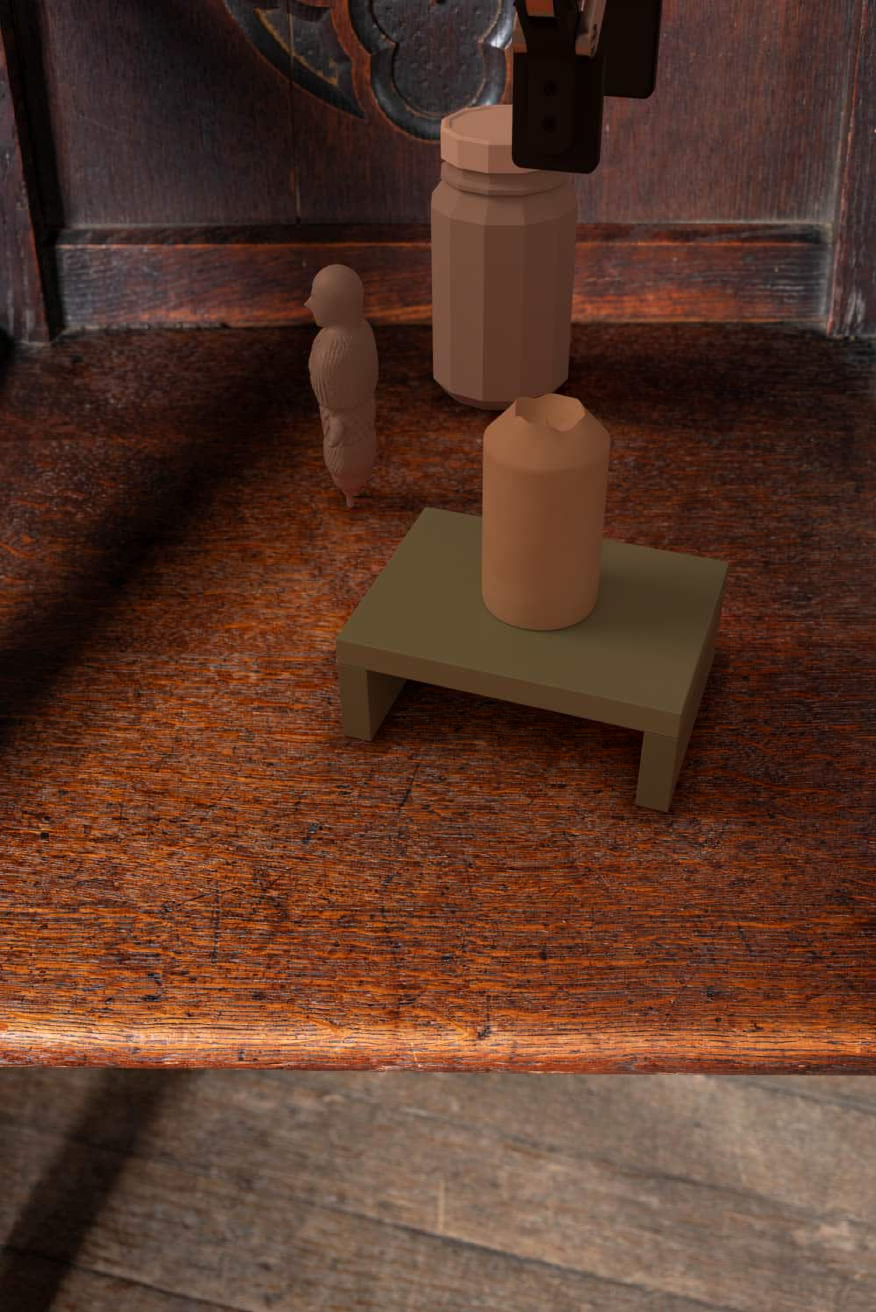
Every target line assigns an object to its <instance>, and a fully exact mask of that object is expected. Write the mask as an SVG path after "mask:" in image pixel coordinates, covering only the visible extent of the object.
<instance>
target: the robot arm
mask: <svg viewBox="0 0 876 1312" xmlns="http://www.w3.org/2000/svg"><path fill="white" fill-rule="evenodd" d="M663 2H664V0H582V2H581V6H580V7H579V3H578V0H513V2H512V6H513V7H515V10H516V11H515V16H514V21H513V27H512V33H511V35H512V36H511V45H512V97H511V98H512V102H511V105H512V161H513V163H514V164H515V165H516V166H517V167H519V168H526V169H537V170H548V171H558V172H569V174H570V173H571V174H580V175H590V174H591V173H593V172H594V171H595V170H596V169H597V167H598V166H599V164H600V162H601V152H602V134H603V117H604V103H605V101H604V100H605V97H610V98H611V97H612V98H624V99H637V100H646V99H648V98H650V97H651V96H652V94H653V93H654V92H655V90H656V87H657V86H656V85H657V74H658V63H659V51H660V40H661V27H662V17H663V15H662V14H663Z"/></svg>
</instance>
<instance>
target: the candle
mask: <svg viewBox="0 0 876 1312" xmlns="http://www.w3.org/2000/svg"><path fill="white" fill-rule="evenodd" d="M482 439H483V440H482V511H481V512H482V513H481V514H482V516H481V517H482V595H483V600H484V603H485V605H486V607H487V609H488V610H489V611H490V612H491V613H492V614H493V615H494V616H495V617H497V618H498V619H500V620H501V621H503V622H505V623H507V624H509V625H512V626H515V627H519V628H523V629H529V630H555V629H561V628H565V627H568V626H571V625H574V624H576V623H578V622H580V621H582V620H583V619H585V618H586V617H587V616H588V615H589V614H590V613H591V612H592V610H593V609H594V607H595V604H596V601H597V597H598V588H599V577H600V565H601V553H602V541H603V539H604V529H605V528H604V526H605V525H604V524H605V516H606V503H607V491H608V479H609V468H610V467H609V466H610V454H611V441H612V440H611V436H610V433H609V431H608V430H607V429H606V427H605V426H604V425H603V424H601V422H600V421H599V420H598V419H597V418H596V417H595V416H594V415H593V414H592V413H591V412H590V411H589V410H588V409H587V408H586V407H585V406H584V405H583V403H582V402H581V401H580V400H579V399H578V398H575V397H572V396H571V397H570V396H566V395H562V394H558V393H553V394H546V395H544V396H542V397H539V398H536V399H533V398H528V397H519V398H518V399H517V400H516V401H515V402H514V403H513V404H512V405H511V406H510V407H509V408H508V409H507V410H504V412H502V414H500V415H499V416H498V417H497V418H496V419H495V420H493V421H492V422H490V424H489V425H488V426H487V427H486V428H485V430H484V433H483V437H482Z"/></svg>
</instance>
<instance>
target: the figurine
mask: <svg viewBox="0 0 876 1312" xmlns="http://www.w3.org/2000/svg"><path fill="white" fill-rule="evenodd" d="M310 295H311V296H309V298H308V299H307V300H306V301H305V302H304V304H303V306H304V307H305V308H306V309H307V310H309V312H311V313H312V315H313V318H314V321H315V324H316V326H318V327H319V328H321V329H320V330H319V332H318V334H316V336H315V338H314V339H313V342H312V345H311V351H310V356H309V359H308V365H307V367H308V369H309V374H310V376H309V378H310V385H311V387H312V390H313V391H314V395H315V397H316V399H317V400H316V401H317V403H318V404H319V407H318V409H319V413H320V420H321V427H322V428H321V429H322V432H323V437H324V438H323V449H322V450H323V451H322V452H323V459H324V462H325V463H324V464H325V466H326V468H327V471H328V472H329V474H330V475H331V478H332V481H333V483H334V485H335V486H336V487H337V488H339V490H340V491H342V493H343V495H345V498H346V507H347V508H349V509H351V508H354V507H355V502H354V497H359V496H360V495H361V494H360V488H362V487H363V486H364V485H365V484H366V483H367V482H368V480H369V478H370V477H371V474H372V470H373V464H374V461H375V459H376V456H377V451H378V448H377V447H378V443H377V442H378V441H377V439H378V438H377V431H376V428H375V425H376V414H377V406H376V401H377V399H376V398H375V390H376V388H377V384H378V381H379V356H378V349H377V346H376V338H375V335H374V331H373V328H372V326H371V325H370V323H369V322H368V320H367V319H365V318H363V308H364V298H365V292H364V285H363V281H362V279H361V278H360V276H359V275H358V274H357V272H356V271H355V270H353V269H352V268H350V267H349V266H346V265H344V264H340V263H339V264H338V263H336V264H335V263H334V264H329V265H327V266H325V267H323V268H322V269H320V270H319V271H318V272H317V273H316V275H315V276H314V279H313V281H312V285H311V293H310Z"/></svg>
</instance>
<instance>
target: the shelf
mask: <svg viewBox="0 0 876 1312" xmlns="http://www.w3.org/2000/svg"><path fill="white" fill-rule="evenodd" d="M729 568H730V561H726V560H722V559H721V560H720V559H715V558H711V557H710V558H709V557H704V556H698V555H694V554H693V555H692V554H687V553H682V552H678V551H677V552H676V551H671V550H666V549H661V548H655V547H649V546H643V545H638V544H633V543H627V542H622V541H617V540H612V539H605V538H603V541H602V553H601V565H600V577H599V588H598V597H597V601H596V604H595V607H594V609H593V610H592V612H591V613H590V614H589V615H588V616H587V617H586V618H585V619H583V620H582V621H580V622H578V623H576V624H574V625H571V626H568V627H565V628H561V629H555V630H529V629H523V628H519V627H515V626H512V625H509V624H507V623H505V622H503V621H501V620H500V619H498V618H497V617H495V616H494V615H493V614H492V613H491V612H490V611H489V610H488V609H487V607H486V605H485V603H484V600H483V595H482V516H481V515H480V516H478V515H473V514H468V513H463V512H457V511H452V510H447V509H442V508H441V509H440V508H435V507H431V506H430V507H429V506H425V507H424V508H423V509H422V511H421V513H420V514H419V516H418V517H417V519H416V520H415V522H414V523H413V525H412V526H411V527H410V529H409V530H408V532H407V534H406V535H405V536H404V537H403V539H402V541H401V542H400V543H399V545H398V547H397V548H396V550H395V551H394V552H393V554H392V555H391V556H390V558H389V560H388V561H387V563H386V564H385V565H384V567H383V568H382V569H381V571H380V573H379V574H378V576H377V577H376V579H375V580H374V581H373V583H372V584H371V586H370V588H368V591H367V592H366V593H365V594H364V596H363V597H362V599H361V600H360V602H359V604H357V606H356V608H355V609H354V610H353V613H351V615H350V616H349V618H348V620H347V621H346V622H345V624H344V625H343V627H342V628H341V630H340V631H339V633H338V634H337V635H336V637H335V650H336V662H337V664H336V665H337V677H338V678H337V679H338V690H339V702H340V703H339V704H340V715H341V726H342V727H341V728H342V735H343V736H346V737H349V738H353V739H358V740H362V741H367V742H372V740H373V739H374V737H375V735H376V734H377V732H378V731H379V728H380V727H381V725H382V723H383V722H384V719H385V718H386V716H387V715H388V714H389V712H390V710H391V708H392V706H393V705H394V703H395V701H396V700H397V698H398V696H399V695H400V694H401V691H402V689H403V688H404V687H405V684H407V683H406V682H407V681H408V680H410V681H414V682H415V681H416V682H421V683H424V684H429V685H434V686H438V687H443V688H447V689H450V690H455V691H461V692H465V693H470V694H475V695H479V696H483V697H487V698H493V699H496V700H500V701H505V702H509V703H515V704H519V705H523V706H526V707H527V706H528V707H533V708H536V709H542V710H546V711H550V712H555V713H560V714H563V715H569V716H573V717H578V718H582V719H587V720H590V721H596V722H599V723H604V724H609V725H613V726H616V727H617V726H618V727H622V728H627V729H630V730H636V731H640V732H643V738H642V746H641V753H640V754H641V755H640V762H639V771H638V777H637V788H636V795H635V806H638V807H642V808H646V809H651V810H655V811H658V812H663V813H668V812H669V809H670V806H671V803H672V799H673V796H674V793H675V790H676V785H677V782H678V779H679V776H680V772H681V769H682V766H683V764H684V763H683V762H684V759H685V756H686V752H687V750H688V746H689V742H690V739H691V735H692V732H693V729H694V725H695V722H696V720H697V715H698V712H699V710H700V706H701V702H702V700H703V696H704V693H705V690H706V685H707V682H708V679H709V676H710V672H711V670H712V665H713V663H714V659H715V656H716V649H717V643H718V637H719V632H720V625H721V618H722V612H723V607H724V600H725V593H726V587H727V581H728V575H729Z"/></svg>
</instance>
